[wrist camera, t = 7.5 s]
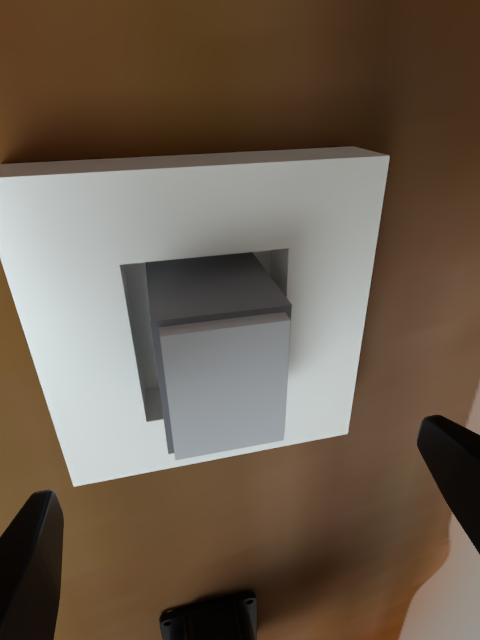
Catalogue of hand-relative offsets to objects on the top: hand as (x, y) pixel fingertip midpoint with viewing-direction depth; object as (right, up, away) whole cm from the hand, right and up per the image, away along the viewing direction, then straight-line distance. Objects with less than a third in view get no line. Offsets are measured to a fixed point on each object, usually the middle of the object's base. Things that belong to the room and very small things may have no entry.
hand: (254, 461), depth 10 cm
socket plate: (-2, +4, +7) cm, 8 cm away
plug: (-2, +4, +7) cm, 8 cm away
